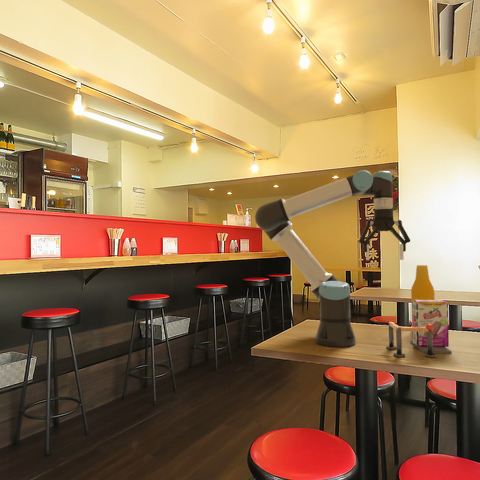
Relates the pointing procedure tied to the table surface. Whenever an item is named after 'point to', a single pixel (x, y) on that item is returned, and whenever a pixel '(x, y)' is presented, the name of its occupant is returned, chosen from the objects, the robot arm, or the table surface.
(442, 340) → the candy bar box
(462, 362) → the table surface
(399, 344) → the bent wire
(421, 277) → the beer bottle
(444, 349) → the mat
